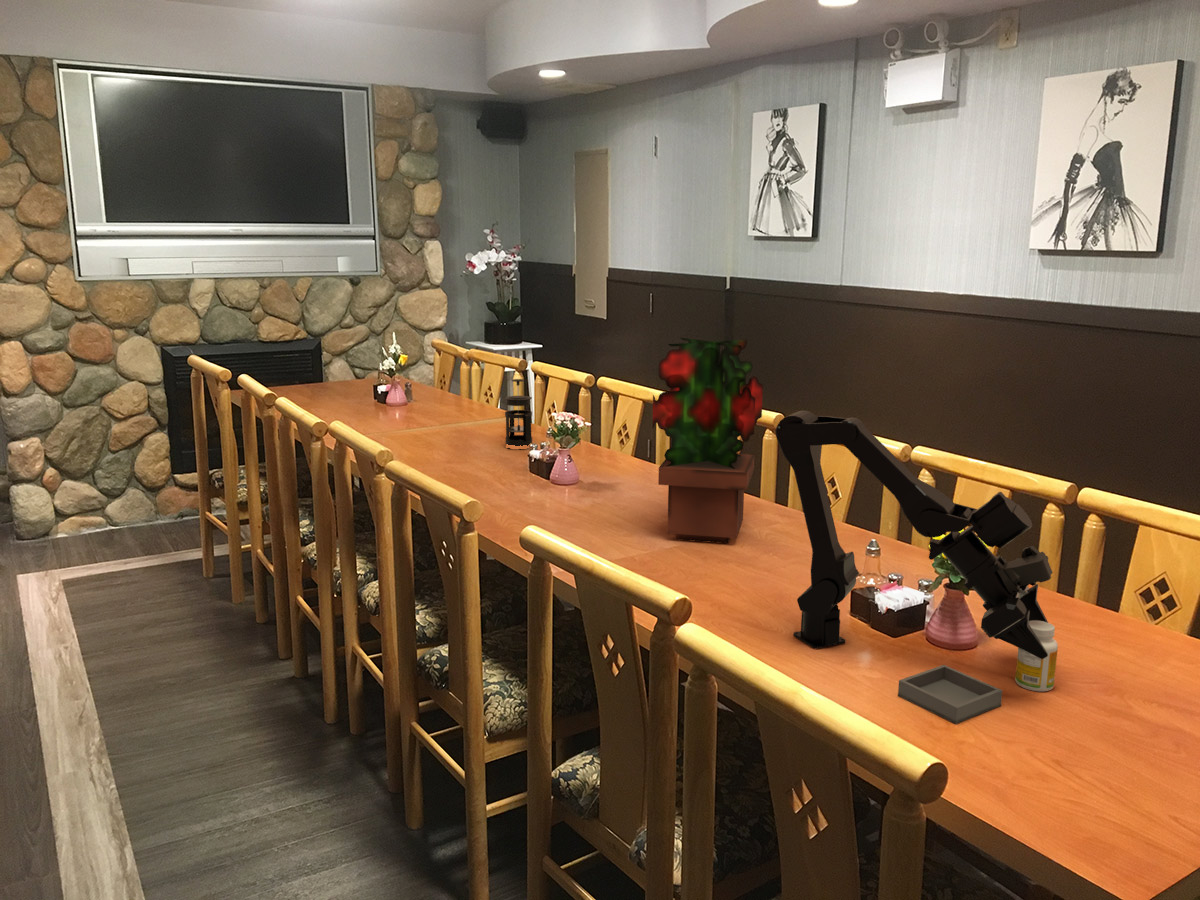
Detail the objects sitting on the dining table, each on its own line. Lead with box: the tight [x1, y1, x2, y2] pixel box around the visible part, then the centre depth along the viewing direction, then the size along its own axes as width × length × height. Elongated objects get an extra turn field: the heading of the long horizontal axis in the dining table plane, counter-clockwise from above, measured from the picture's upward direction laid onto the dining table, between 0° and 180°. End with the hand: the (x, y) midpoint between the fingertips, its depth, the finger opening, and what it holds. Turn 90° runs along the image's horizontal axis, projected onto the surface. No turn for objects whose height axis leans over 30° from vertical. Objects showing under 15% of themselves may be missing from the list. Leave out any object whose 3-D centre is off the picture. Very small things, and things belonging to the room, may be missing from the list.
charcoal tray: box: [897, 664, 1003, 725], centre depth 139 cm, size 10×10×2 cm
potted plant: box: [652, 337, 764, 544], centre depth 216 cm, size 22×22×45 cm
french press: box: [504, 378, 533, 446], centre depth 314 cm, size 12×9×23 cm
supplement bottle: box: [1014, 620, 1059, 693], centre depth 143 cm, size 5×5×10 cm
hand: (1048, 646), depth 142 cm, fingers open, 9 cm apart
